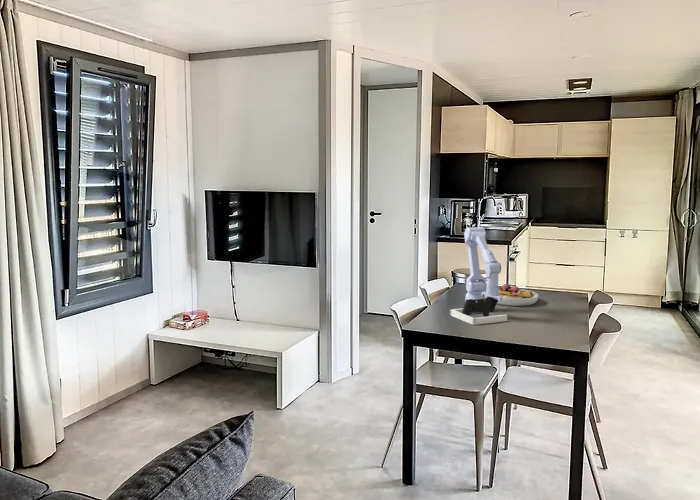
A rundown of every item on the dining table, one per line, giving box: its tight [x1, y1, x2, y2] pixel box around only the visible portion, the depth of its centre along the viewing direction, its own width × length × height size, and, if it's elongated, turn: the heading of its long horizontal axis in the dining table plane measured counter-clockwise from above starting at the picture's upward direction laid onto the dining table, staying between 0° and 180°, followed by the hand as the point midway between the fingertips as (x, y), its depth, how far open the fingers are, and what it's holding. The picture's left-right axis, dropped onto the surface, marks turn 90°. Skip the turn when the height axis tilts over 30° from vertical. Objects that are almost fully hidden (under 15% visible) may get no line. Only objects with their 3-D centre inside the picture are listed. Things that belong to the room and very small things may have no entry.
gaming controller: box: [462, 298, 490, 317], centre depth 279 cm, size 14×6×10 cm, turn 99°
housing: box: [449, 308, 508, 326], centre depth 279 cm, size 20×20×3 cm
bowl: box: [484, 283, 539, 307], centre depth 318 cm, size 30×30×8 cm
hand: (491, 312), depth 282 cm, fingers closed
